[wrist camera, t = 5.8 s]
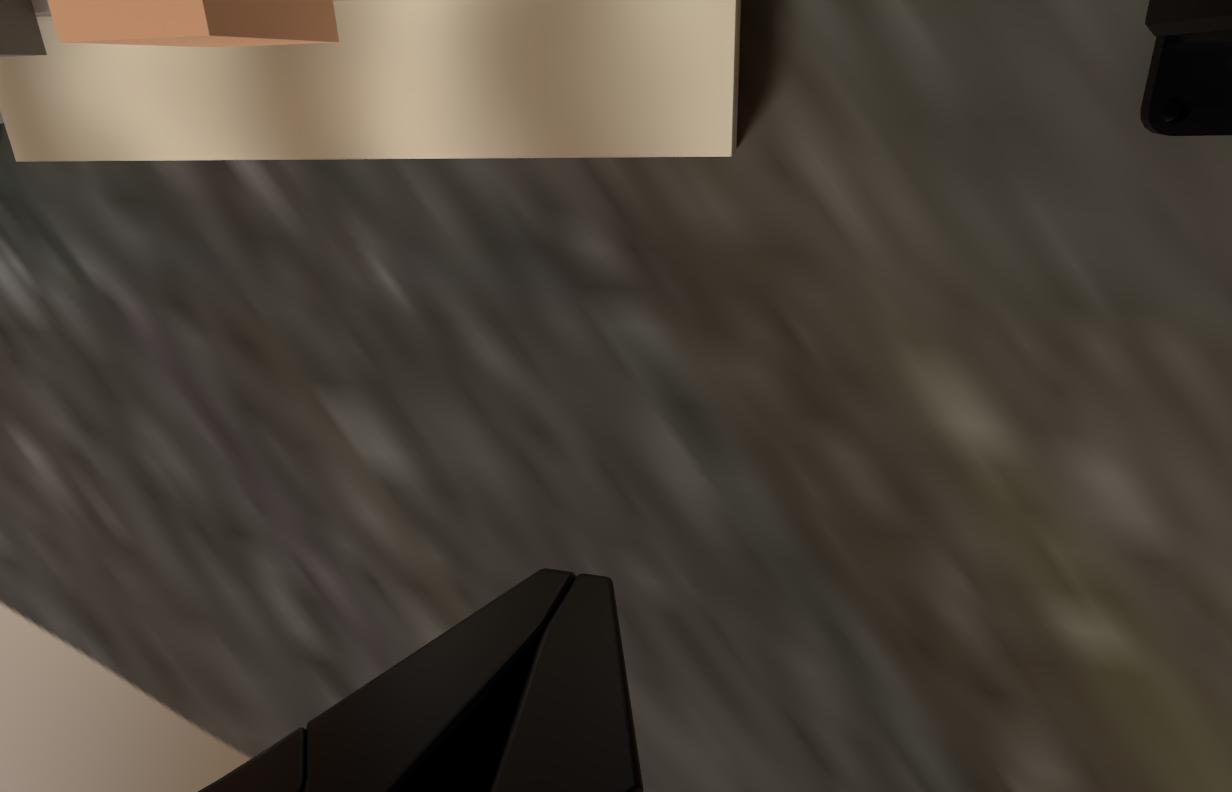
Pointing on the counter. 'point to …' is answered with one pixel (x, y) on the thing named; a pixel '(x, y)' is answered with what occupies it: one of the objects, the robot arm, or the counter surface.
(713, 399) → the counter surface
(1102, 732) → the counter surface
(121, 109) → the hole plate
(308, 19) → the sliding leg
